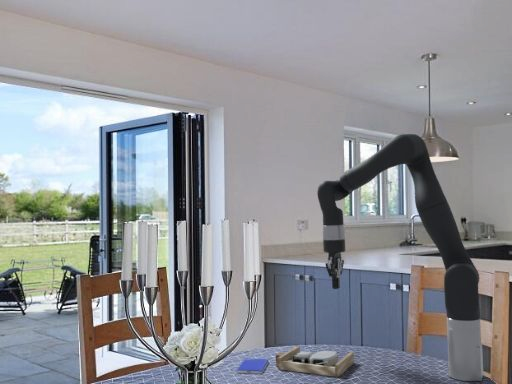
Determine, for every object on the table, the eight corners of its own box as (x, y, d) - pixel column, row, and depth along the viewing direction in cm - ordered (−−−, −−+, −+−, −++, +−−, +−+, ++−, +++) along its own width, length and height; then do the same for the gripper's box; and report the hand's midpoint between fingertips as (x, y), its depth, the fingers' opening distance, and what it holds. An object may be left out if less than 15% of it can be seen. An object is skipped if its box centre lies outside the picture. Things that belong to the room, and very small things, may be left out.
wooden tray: (354, 362, 173) (353, 352, 173) (338, 376, 160) (338, 365, 160) (291, 355, 184) (291, 345, 184) (272, 368, 170) (271, 357, 170)
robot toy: (285, 372, 169) (330, 374, 162) (284, 357, 169) (329, 359, 162) (301, 361, 180) (343, 363, 173) (300, 348, 180) (342, 349, 173)
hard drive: (244, 358, 178) (235, 369, 166) (268, 359, 177) (261, 370, 165) (244, 363, 178) (236, 374, 166) (268, 363, 177) (261, 375, 165)
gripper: (338, 239, 177) (340, 291, 177) (350, 237, 189) (352, 286, 189) (316, 239, 181) (319, 291, 180) (330, 237, 193) (332, 285, 192)
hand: (336, 288), depth 184 cm, fingers closed
